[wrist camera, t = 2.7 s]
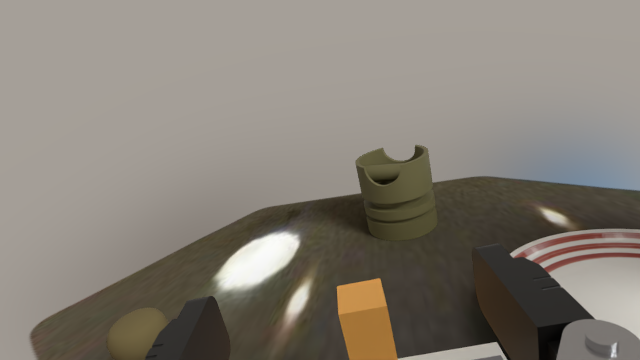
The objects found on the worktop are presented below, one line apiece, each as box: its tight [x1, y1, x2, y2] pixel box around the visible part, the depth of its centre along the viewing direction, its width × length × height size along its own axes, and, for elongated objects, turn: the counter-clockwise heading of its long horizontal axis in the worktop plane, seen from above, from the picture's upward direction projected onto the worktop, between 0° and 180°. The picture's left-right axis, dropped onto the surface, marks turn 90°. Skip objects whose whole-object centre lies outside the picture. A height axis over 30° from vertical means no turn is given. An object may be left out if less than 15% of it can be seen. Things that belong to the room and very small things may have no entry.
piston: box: [356, 145, 438, 241], centre depth 63 cm, size 11×12×11 cm
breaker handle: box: [337, 278, 398, 360], centre depth 27 cm, size 4×4×10 cm
